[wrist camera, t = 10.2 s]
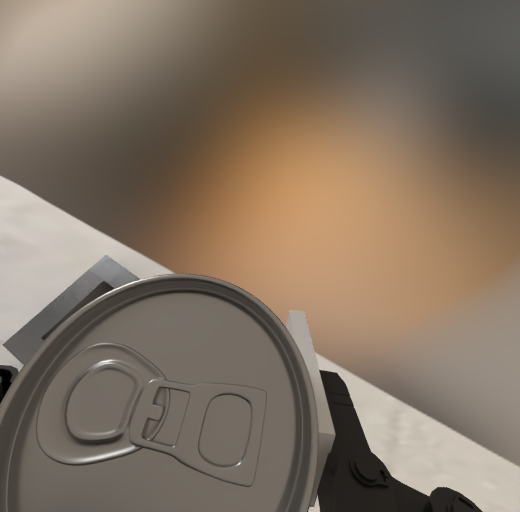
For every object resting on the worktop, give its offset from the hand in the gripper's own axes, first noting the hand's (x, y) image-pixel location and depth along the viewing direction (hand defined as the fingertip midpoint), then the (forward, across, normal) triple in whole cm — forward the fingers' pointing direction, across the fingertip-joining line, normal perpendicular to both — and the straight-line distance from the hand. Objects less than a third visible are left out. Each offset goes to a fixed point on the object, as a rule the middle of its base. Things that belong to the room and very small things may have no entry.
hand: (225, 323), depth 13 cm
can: (+1, 0, -6) cm, 6 cm away
